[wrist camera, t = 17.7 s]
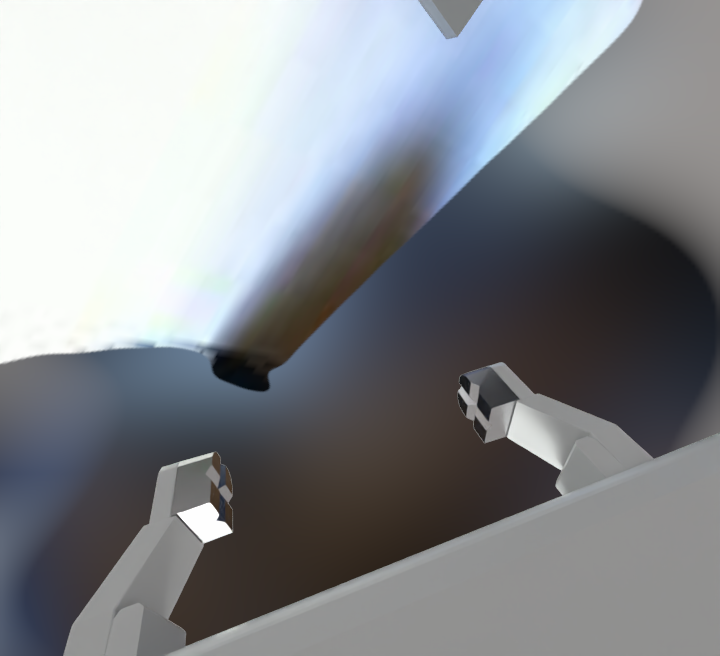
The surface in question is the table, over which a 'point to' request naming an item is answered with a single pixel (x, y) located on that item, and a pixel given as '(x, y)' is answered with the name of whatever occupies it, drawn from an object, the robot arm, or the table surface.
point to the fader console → (450, 14)
